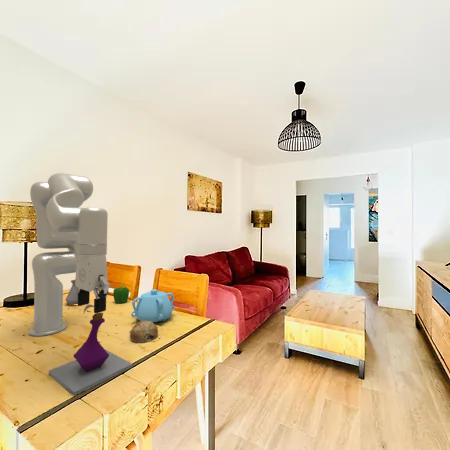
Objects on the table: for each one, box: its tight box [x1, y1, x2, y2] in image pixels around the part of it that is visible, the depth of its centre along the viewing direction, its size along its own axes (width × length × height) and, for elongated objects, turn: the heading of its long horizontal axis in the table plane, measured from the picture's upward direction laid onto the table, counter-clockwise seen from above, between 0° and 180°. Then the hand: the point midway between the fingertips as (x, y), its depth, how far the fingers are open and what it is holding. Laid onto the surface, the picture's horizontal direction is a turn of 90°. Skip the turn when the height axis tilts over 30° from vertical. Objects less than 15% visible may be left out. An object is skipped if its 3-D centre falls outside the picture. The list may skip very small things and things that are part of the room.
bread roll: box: [128, 320, 159, 344], centre depth 94 cm, size 10×10×8 cm
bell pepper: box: [112, 283, 130, 304], centre depth 140 cm, size 8×8×10 cm
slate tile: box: [48, 348, 133, 397], centre depth 72 cm, size 16×16×1 cm
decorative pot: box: [130, 288, 176, 323], centre depth 113 cm, size 16×16×14 cm
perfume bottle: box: [73, 304, 109, 372], centre depth 72 cm, size 8×8×18 cm
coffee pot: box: [65, 279, 79, 305], centre depth 134 cm, size 21×12×15 cm, turn 31°
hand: (91, 308), depth 73 cm, fingers open, 9 cm apart
